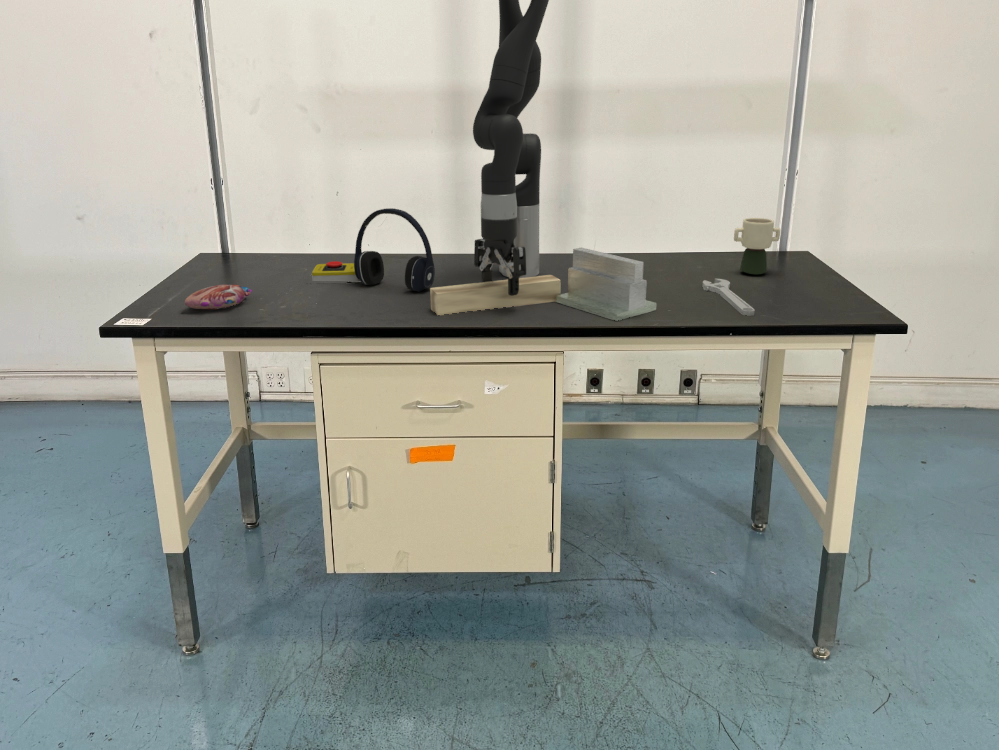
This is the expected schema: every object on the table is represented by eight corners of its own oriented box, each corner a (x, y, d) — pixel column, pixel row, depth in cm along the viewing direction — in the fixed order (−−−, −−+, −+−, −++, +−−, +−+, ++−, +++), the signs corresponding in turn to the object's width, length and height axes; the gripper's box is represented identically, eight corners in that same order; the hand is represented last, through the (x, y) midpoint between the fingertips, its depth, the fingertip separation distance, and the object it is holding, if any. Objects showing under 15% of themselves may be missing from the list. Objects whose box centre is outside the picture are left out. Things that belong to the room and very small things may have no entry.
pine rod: (431, 310, 171) (430, 288, 169) (550, 296, 180) (551, 274, 178) (437, 317, 166) (437, 293, 164) (560, 302, 176) (560, 280, 174)
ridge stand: (555, 302, 174) (556, 252, 170) (595, 292, 181) (596, 244, 177) (616, 321, 161) (618, 267, 157) (656, 309, 168) (659, 258, 164)
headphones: (439, 288, 186) (436, 209, 179) (423, 296, 180) (419, 214, 174) (368, 279, 195) (363, 203, 188) (351, 286, 189) (345, 208, 182)
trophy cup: (770, 269, 199) (777, 217, 194) (779, 277, 192) (786, 223, 187) (726, 270, 199) (731, 217, 194) (734, 277, 192) (739, 223, 187)
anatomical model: (234, 320, 169) (263, 287, 181) (224, 296, 166) (254, 264, 178) (189, 324, 171) (220, 291, 184) (179, 300, 168) (211, 269, 181)
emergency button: (310, 259, 198) (371, 257, 199) (311, 276, 200) (372, 275, 201) (304, 268, 189) (368, 266, 190) (306, 286, 191) (369, 284, 192)
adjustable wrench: (756, 318, 164) (757, 310, 163) (724, 318, 164) (725, 310, 163) (726, 285, 187) (726, 277, 186) (698, 285, 187) (699, 278, 187)
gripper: (535, 216, 163) (535, 294, 169) (490, 209, 173) (492, 282, 179) (507, 221, 158) (508, 300, 164) (463, 213, 169) (465, 288, 174)
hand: (500, 291), depth 171 cm, fingers open, 8 cm apart
